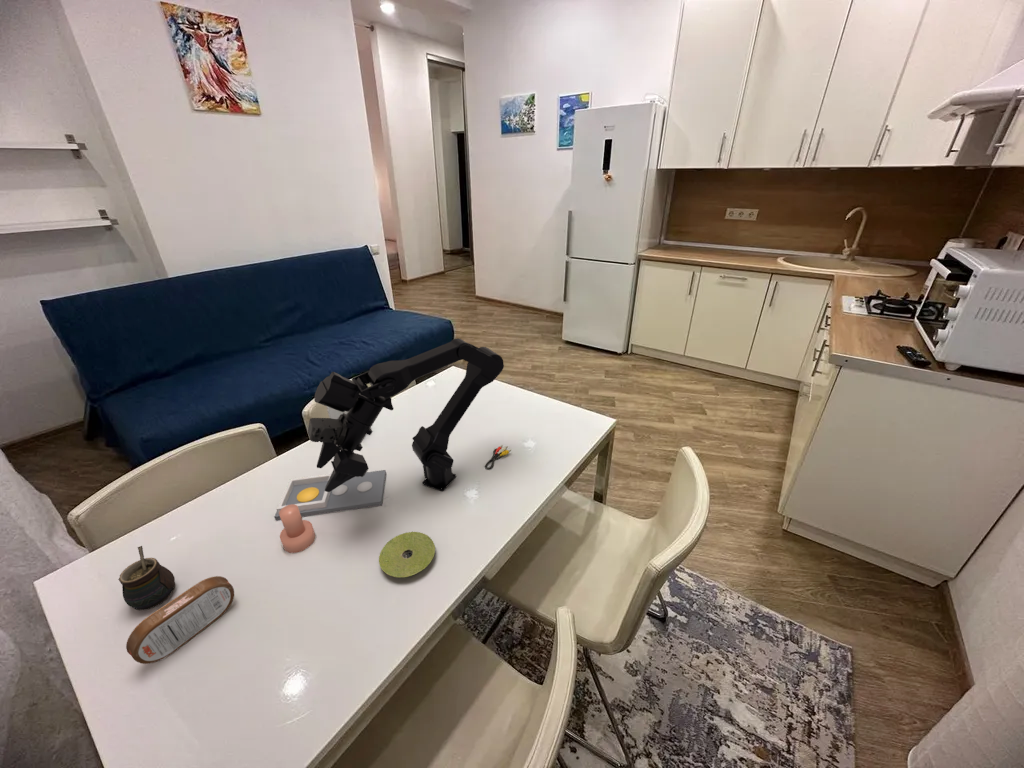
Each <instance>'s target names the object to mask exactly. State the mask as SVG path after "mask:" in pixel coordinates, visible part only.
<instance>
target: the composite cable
mask: <svg viewBox="0 0 1024 768" xmlns="http://www.w3.org/2000/svg"><path fill="white" fill-rule="evenodd" d="M508 448H509V446H508V445H507V446H504V445H503V444H501V445H500V446H498V447H497V448H494V449H493V452H492V457H491V458H490V459H489V460H488V461H487V462H486V463H485V464H484V468H485V470H488V471H489V470H492V469H493V468H494V466H495V461H496V460H497V461H498V460H499V459H501V458H502V457H504V456H506V455H508V454H510V452H512V449H508Z"/></svg>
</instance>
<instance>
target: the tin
mask: <svg viewBox="0 0 1024 768" xmlns="http://www.w3.org/2000/svg"><path fill="white" fill-rule="evenodd" d="M234 598H235V590H234V587H233V585H232V584H231V583H230V582H229V580H228V579H227V578H226V577H223V576H218V575H216V576H211V577H207V578H204V579H202V580H200V581H199V582H197V583H195V584H194V585H192V586H191V587H190V588H188V589H186V591H184V592H182V593H181V594H180V595H178V596H176V597H175V598H173V599H172V600H170V601H169V602H167V603H166V604H164V605H162V607H160V608H159V609H157V610H155V611H154V612H153V613H151V614H149V615H148V616H147V617H146V618H144V619H143V620H141V621H140V622H139V623H138V624H137V625H136V626H135V627H134V629H133V630H132V631H131V633H130V635H129V636H128V637H127V641H126V644H125V645H126V646H125V649H126V652H127V654H128V655H130V657H132V659H133V661H135V662H137V663H138V664H143V665H146V664H147V665H149V664H154V663H157V662H160V661H162V660H164V659H166V658H168V657H169V656H171V655H172V654H174V653H175V652H177V651H178V650H179V649H180V648H181V647H183V646H184V645H185V644H187V643H189V641H191V640H192V639H194V638H195V637H196V636H197V635H199V634H200V633H202V632H203V631H204V630H205V629H207V628H208V627H209V626H210V625H212V624H213V623H215V622H216V621H217V620H218V619H220V618H221V617H222V616H223V615H224V614H225V613H226V612H227V611H228V609H230V607H231V605H232V603H233V602H234Z"/></svg>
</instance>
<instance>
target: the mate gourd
mask: <svg viewBox="0 0 1024 768" xmlns="http://www.w3.org/2000/svg"><path fill="white" fill-rule="evenodd" d="M143 549H144V548H143V545H141V546H137V550H138V554H139V557H140V558H139V560H136V561H135V562H133V563H131V564H129V565H128V566H127V567H126V568H124V569H123V570H122V571H121V573H120V575H119V578H118V579H117V580H118V581H119V582H120V584H121V585H122V587H121V588H122V597H123V600H124V602H125V603H126V605H127V606H129V607H131V608H133V609H134V610H137V611H146V610H149V609H153V608H155V607H158V606H159V605H161V604H163V603H164V602H165V601H166V600H167V599H168V598H169V597H170V596H171V594H172V593H173V591H174V590H175V587H176V580H175V575H174V573H173V572H172V571H171V570H169V569H168V568H167V567H165V566H164V565H162V564H160V562H159V561H158V560H157V558H155V557H146V558H145V555H144V550H143Z"/></svg>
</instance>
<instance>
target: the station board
mask: <svg viewBox="0 0 1024 768" xmlns="http://www.w3.org/2000/svg"><path fill="white" fill-rule="evenodd" d="M331 474H332V473H327V474H320V475H312V476H311V475H310V476H304V477H297V478H296V477H295V478H290V479H289V480H288V482H287V485H286V487H285V489H284V491H283V493H282V495H281V498H280V500H279V502H278V505H277V507H276V511H275V515H274V516H273V517H274V520H275V521H281V518H280V515H279V512H280V510H281V509H282V508H283V507H285V506H287V505H291V504H294V505H297V506H298V509H299V511H300V514H301V517H303V518H304V517H310V516H316V515H323V514H330V513H331V514H332V513H337V512H343V511H350V510H359V509H364V508H372V507H378V506H382V505H383V500H384V494H385V493H384V492H385V485H386V477H387V471H386V469H381V470H375V471H367V472H366V474H365V475H364V476H363V477H361V476H359V477H354V478H352V479H350V480H348V481H346V482H345V483H343V484H341V485H340V486H338V487H337V488H335V489H334V490H332V491H330V492H326V491H325V487H326V485H327V483H328V480H329V478H330V476H331Z"/></svg>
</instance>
